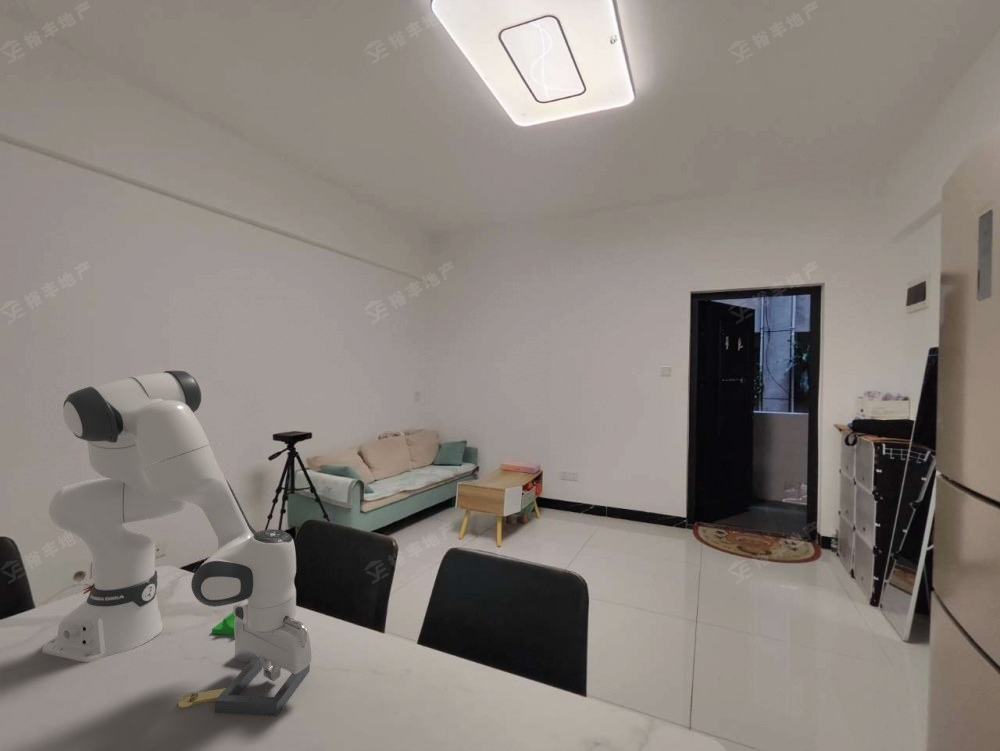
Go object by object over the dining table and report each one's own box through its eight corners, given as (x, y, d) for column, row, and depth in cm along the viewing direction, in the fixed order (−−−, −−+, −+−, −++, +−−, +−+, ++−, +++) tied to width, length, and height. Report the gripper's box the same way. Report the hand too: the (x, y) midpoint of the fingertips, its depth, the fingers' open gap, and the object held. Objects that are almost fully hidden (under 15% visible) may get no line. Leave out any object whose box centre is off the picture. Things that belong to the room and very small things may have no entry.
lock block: (234, 661, 96) (235, 641, 96) (253, 647, 101) (253, 628, 101) (257, 666, 95) (257, 646, 95) (274, 652, 100) (274, 632, 100)
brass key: (175, 712, 82) (175, 706, 82) (182, 700, 85) (182, 694, 85) (222, 704, 84) (222, 697, 84) (227, 692, 87) (227, 686, 87)
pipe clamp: (266, 611, 109) (254, 621, 105) (266, 626, 109) (254, 637, 105) (225, 608, 110) (211, 618, 106) (225, 623, 110) (211, 633, 106)
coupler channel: (214, 716, 81) (214, 700, 81) (255, 670, 93) (255, 656, 93) (276, 719, 80) (276, 703, 80) (309, 672, 93) (309, 658, 93)
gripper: (319, 617, 87) (319, 685, 87) (257, 591, 96) (256, 652, 97) (291, 633, 81) (291, 706, 81) (228, 605, 91) (227, 670, 91)
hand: (272, 677), depth 89 cm, fingers closed
